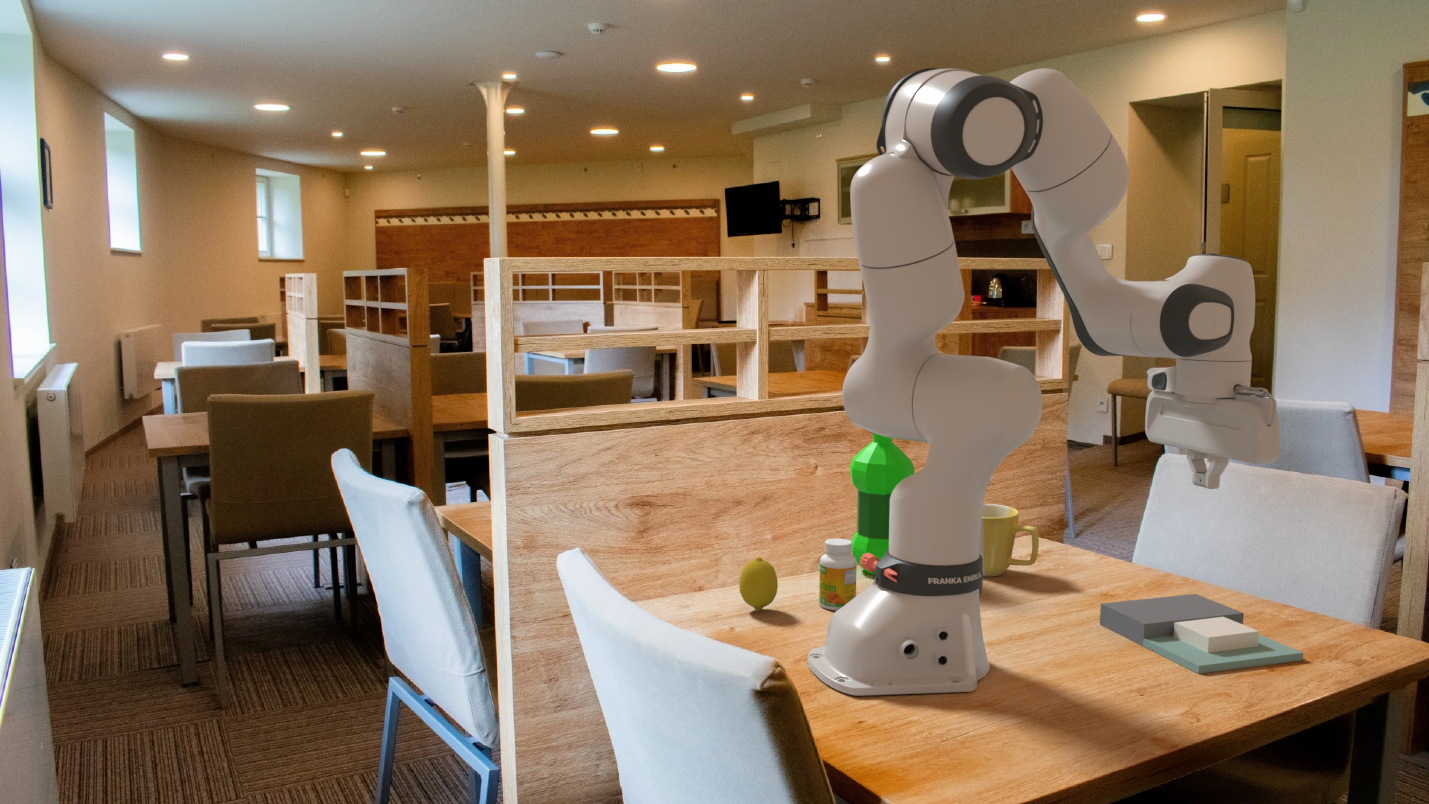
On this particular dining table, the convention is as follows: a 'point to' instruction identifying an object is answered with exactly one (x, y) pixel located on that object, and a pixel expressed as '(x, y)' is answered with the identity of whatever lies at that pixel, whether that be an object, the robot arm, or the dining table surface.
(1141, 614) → the plate
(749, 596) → the lemon
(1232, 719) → the dining table surface
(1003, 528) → the mug
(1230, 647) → the tile
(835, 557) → the supplement bottle
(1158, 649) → the mat
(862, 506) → the plastic bottle
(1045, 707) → the dining table surface
